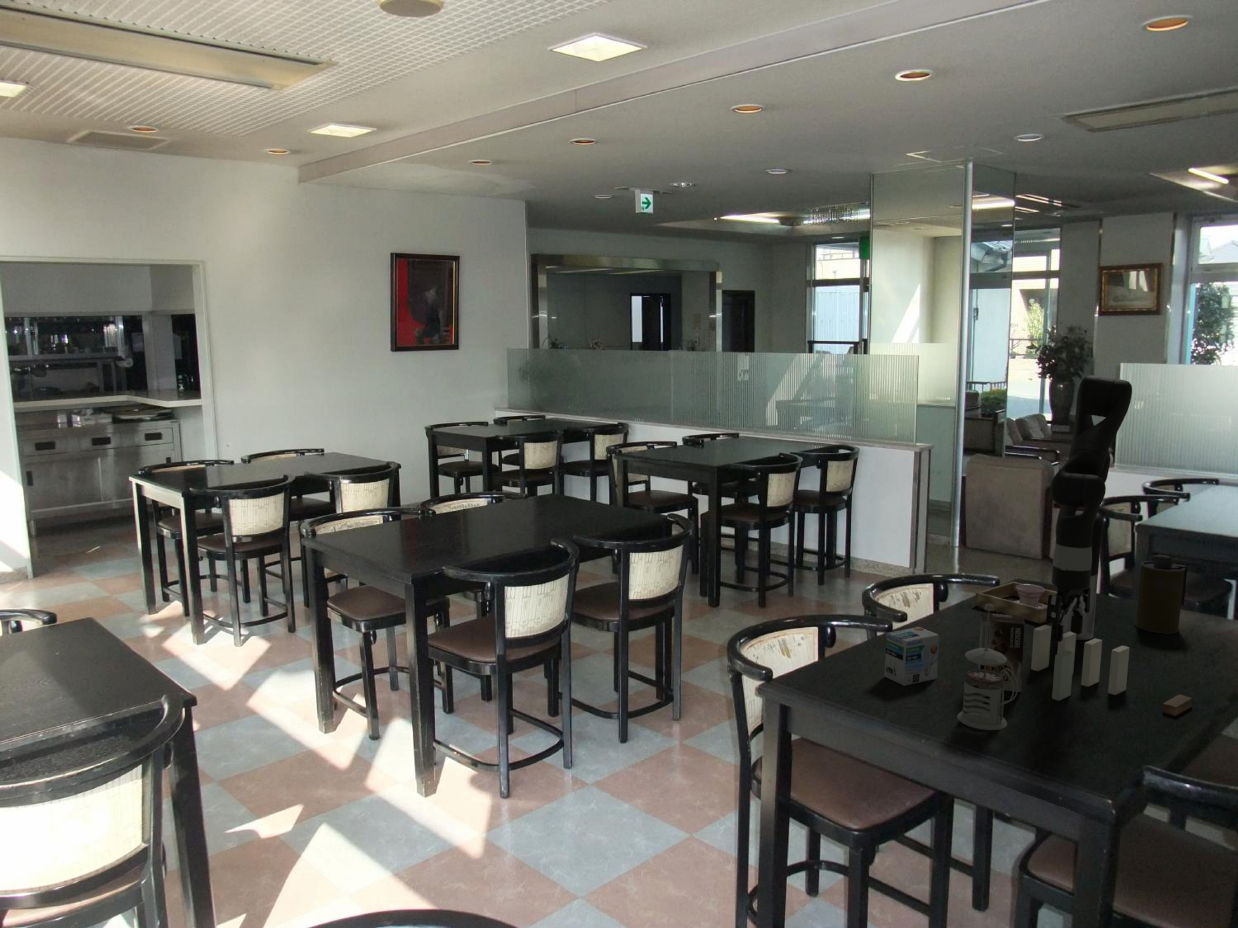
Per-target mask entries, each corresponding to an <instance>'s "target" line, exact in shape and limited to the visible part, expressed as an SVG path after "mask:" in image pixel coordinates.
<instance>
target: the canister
mask: <svg viewBox="0 0 1238 928" xmlns="http://www.w3.org/2000/svg"><path fill="white" fill-rule="evenodd" d="M1151 557H1152V558H1153V560H1145V561H1142V562H1140V564H1139V565H1140V566H1141V567H1140V577H1139V588H1138V589H1139V590H1138V600H1137V611H1136V620H1135V621H1136V622H1135V623H1134V625H1135V626H1136V627H1137V628H1138V629H1140V630H1143V631H1145V630H1146V632H1149V631H1150V632H1149V633H1153V632H1155V633H1154V634H1160V633H1163V634H1162V635H1173V633H1174V634H1178V633H1179V632H1180V619H1181V617H1180V616H1181V609H1182V608H1181V607H1185V595H1186V587H1187V576H1188V575H1187V573H1188V567H1187V566H1186V565H1184V564H1177V563H1173V561H1172V559H1173V558H1172V557H1170V556H1169V555H1167V554H1160V555H1159V554H1154V555H1151ZM1178 631H1179V632H1178ZM1177 632H1178V633H1177Z"/></svg>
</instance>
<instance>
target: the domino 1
mask: <svg viewBox="0 0 1238 928" xmlns="http://www.w3.org/2000/svg"><path fill="white" fill-rule="evenodd" d="M1032 640H1033V641H1032V652H1031V653H1032V654H1031V667H1030V670H1033V671H1035V672H1039V671H1041V670H1044V669H1046V668H1048V667H1049V664H1050V662H1049V661H1050V653H1051V652H1050V650H1051V626H1050V625H1047V624H1044V625H1041V626H1038V627H1036V628H1034V629H1033V638H1032Z"/></svg>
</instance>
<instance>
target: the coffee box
mask: <svg viewBox="0 0 1238 928" xmlns="http://www.w3.org/2000/svg"><path fill="white" fill-rule="evenodd" d="M987 624H988V612H983V611H982V612H981V613H980V630H979V633H980V634H979V646H978V648H986V639H987ZM1025 625H1026V624H1025V619H1023V616H1019V615H1008V614H1002V613H997V612H995V613H994V612H989V625H988V640H987V648H989V649H992V650H994V651H997V652H1000V653H1001V654H1002V655H1004V656H1005V657H1006V658H1007V661H1006V662H1005V663H1004V664H1003V665H999V666H986V670H989V671H992V672H993V671H994V672H995V673H998V674H1000V675H1001V670H1004V671H1005V668H1008V669H1009V670H1011V671H1012V672H1013V674H1014V675H1015V676H1016V679H1017V681H1018V692H1017V693H1021V692H1022V686H1023V685H1022V682H1023V666H1024V665H1023V664H1024V663H1023V662H1024V644H1025V643H1024V642H1025V632H1026V631H1025V627H1026V626H1025ZM977 666H978V668H977V669H981V670H982V669H983V670H985V665H980V664H978V665H977ZM1008 669H1006V672H1007V673H1008V674H1009V676H1010V677H1011V679H1012V681H1013V683H1014V693H1016V690H1017V683H1016V680H1015V677H1014V676H1013V674H1012V673H1011V672H1010V671H1009V670H1008ZM1004 671H1002V674H1004ZM1009 676H1008V675H1007V674H1006V673H1005V675H1003V680H1002V681H1001V682H1003V683H1004V692H1006V691H1007V692H1013V685H1012V682H1011V679H1010V678H1009ZM992 686H993V687H998V688H999V689H1001V691H1003V690H1002V688H1001V687H1000V686H999V685H998V684H988V685H982V686H978V687H977V688H979V689H981V688H987V687H992Z"/></svg>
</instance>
